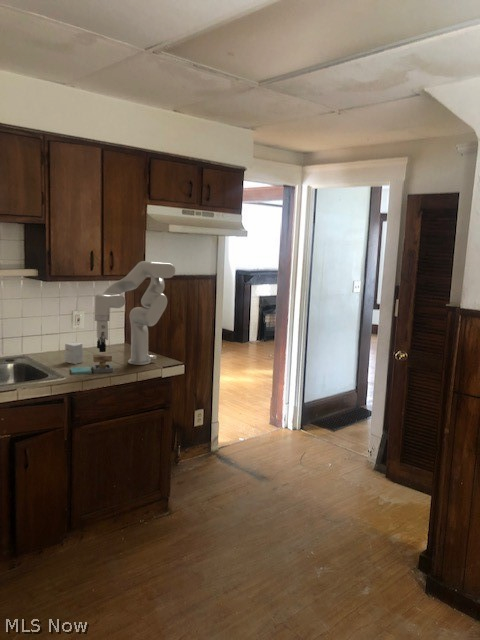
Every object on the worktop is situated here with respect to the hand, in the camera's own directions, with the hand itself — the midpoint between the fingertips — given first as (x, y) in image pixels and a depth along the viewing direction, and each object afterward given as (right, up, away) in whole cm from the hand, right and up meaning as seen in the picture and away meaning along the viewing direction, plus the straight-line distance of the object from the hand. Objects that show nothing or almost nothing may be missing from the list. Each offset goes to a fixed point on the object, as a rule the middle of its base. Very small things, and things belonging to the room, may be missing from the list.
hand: (101, 350), depth 280 cm
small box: (-19, -8, +16) cm, 27 cm away
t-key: (0, -11, +2) cm, 11 cm away
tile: (-10, -11, -2) cm, 15 cm away
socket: (0, -11, +2) cm, 11 cm away
